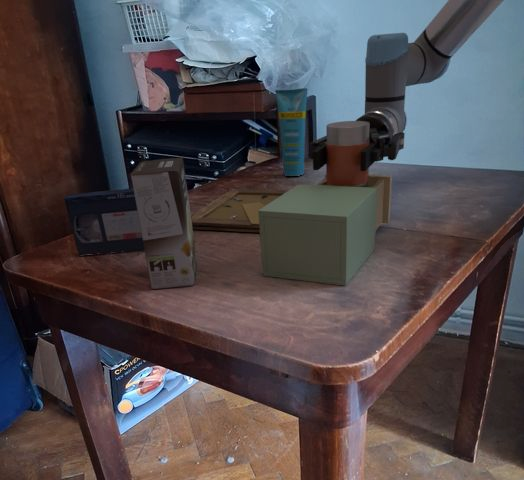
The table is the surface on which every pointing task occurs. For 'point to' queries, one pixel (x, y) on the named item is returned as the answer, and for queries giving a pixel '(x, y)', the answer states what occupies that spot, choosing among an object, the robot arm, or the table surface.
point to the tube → (292, 128)
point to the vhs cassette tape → (104, 221)
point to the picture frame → (235, 210)
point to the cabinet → (318, 233)
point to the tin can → (346, 153)
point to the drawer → (379, 196)
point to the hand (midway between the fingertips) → (338, 161)
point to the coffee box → (165, 222)
